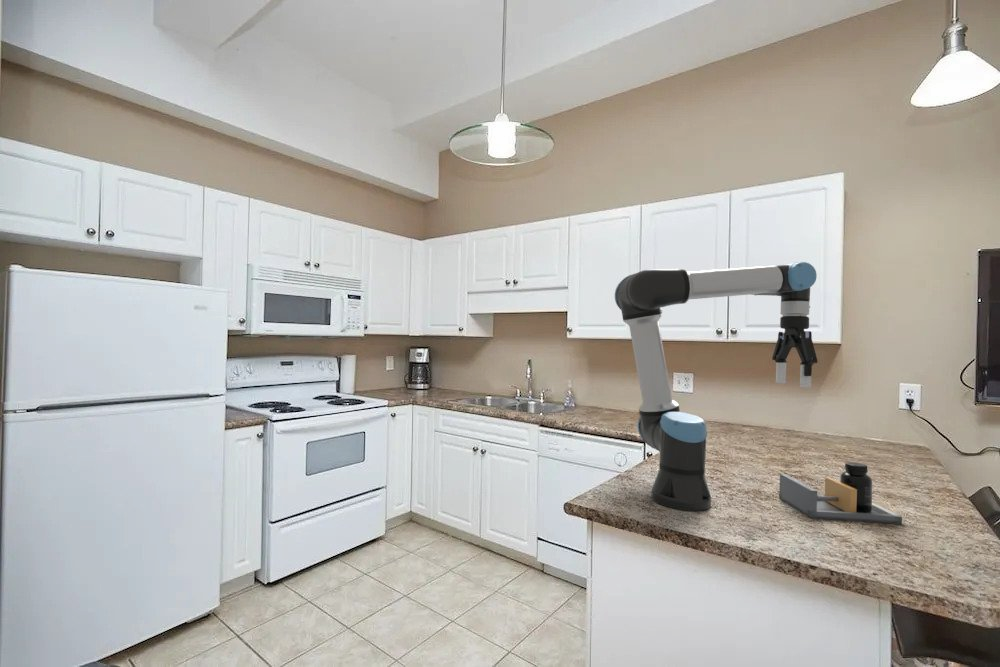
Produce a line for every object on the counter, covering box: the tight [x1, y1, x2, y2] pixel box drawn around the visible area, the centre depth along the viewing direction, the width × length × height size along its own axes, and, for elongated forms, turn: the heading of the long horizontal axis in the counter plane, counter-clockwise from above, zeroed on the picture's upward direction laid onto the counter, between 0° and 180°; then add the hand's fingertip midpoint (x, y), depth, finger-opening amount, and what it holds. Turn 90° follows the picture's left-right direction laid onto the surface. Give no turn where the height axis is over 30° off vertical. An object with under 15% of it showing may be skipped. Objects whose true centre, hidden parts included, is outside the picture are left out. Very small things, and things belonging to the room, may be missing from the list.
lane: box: [778, 473, 903, 525], centre depth 125 cm, size 22×15×7 cm
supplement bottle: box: [839, 461, 873, 513], centre depth 125 cm, size 7×7×12 cm
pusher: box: [817, 476, 857, 512], centre depth 126 cm, size 8×11×6 cm
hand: (792, 385), depth 143 cm, fingers open, 13 cm apart
